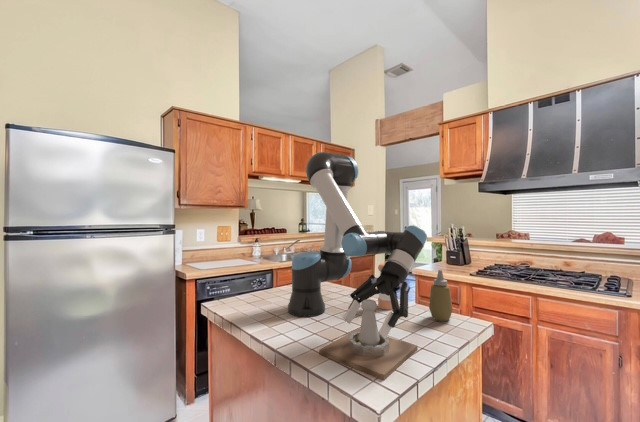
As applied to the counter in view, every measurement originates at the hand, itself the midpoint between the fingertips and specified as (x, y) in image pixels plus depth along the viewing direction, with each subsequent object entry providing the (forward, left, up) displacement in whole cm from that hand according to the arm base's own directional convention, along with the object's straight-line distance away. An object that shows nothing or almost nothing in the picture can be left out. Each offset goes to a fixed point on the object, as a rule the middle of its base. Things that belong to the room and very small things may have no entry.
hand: (362, 328), depth 80 cm
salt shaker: (+1, +2, -6) cm, 6 cm away
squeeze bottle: (+8, +42, -7) cm, 44 cm away
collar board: (+1, +2, -7) cm, 8 cm away
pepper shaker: (-14, +42, -7) cm, 45 cm away
